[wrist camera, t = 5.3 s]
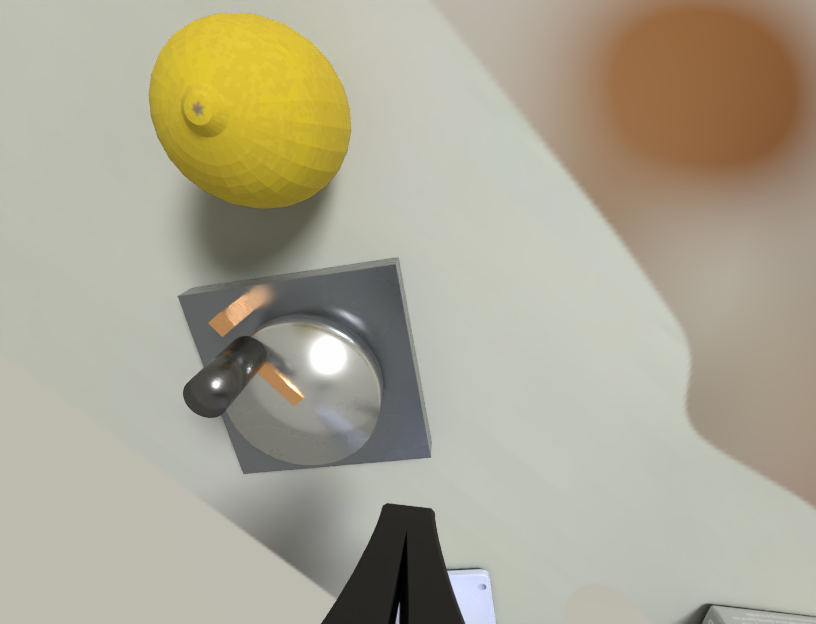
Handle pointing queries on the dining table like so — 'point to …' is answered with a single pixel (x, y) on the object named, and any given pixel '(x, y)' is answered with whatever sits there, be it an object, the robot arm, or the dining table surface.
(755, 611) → the skincare box
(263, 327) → the dial
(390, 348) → the dial plate
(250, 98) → the lemon
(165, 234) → the dining table surface
